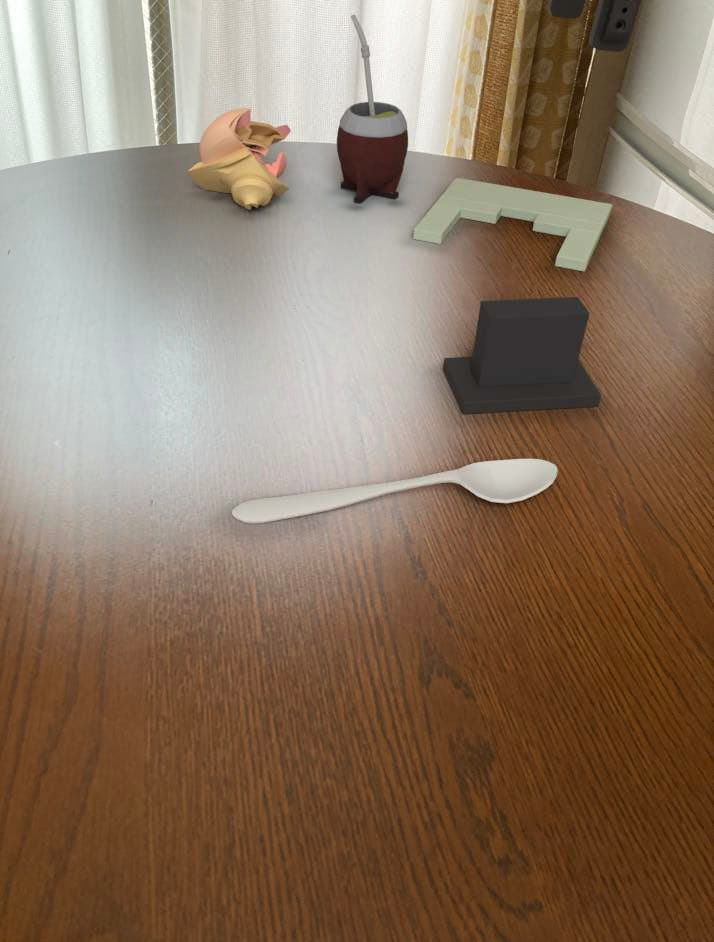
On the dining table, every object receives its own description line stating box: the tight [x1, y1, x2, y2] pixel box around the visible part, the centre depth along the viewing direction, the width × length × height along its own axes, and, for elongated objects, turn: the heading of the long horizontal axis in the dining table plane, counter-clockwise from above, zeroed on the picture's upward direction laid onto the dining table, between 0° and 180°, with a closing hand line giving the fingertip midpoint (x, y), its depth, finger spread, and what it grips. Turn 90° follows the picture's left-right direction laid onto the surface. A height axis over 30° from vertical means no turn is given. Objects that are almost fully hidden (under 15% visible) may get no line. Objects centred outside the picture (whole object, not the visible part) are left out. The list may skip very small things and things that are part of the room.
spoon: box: [231, 458, 559, 524], centre depth 57 cm, size 4×21×2 cm, turn 100°
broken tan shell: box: [187, 107, 292, 211], centre depth 90 cm, size 9×10×10 cm
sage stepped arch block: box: [412, 177, 613, 272], centre depth 88 cm, size 16×14×1 cm
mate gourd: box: [336, 14, 409, 204], centre depth 89 cm, size 8×8×15 cm
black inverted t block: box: [442, 296, 602, 415], centre depth 66 cm, size 10×8×6 cm
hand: (583, 32), depth 58 cm, fingers open, 8 cm apart
